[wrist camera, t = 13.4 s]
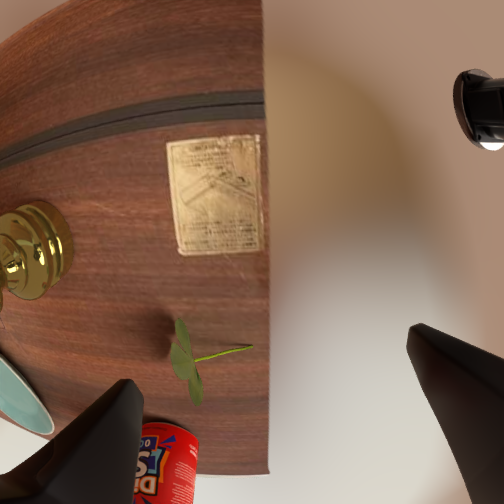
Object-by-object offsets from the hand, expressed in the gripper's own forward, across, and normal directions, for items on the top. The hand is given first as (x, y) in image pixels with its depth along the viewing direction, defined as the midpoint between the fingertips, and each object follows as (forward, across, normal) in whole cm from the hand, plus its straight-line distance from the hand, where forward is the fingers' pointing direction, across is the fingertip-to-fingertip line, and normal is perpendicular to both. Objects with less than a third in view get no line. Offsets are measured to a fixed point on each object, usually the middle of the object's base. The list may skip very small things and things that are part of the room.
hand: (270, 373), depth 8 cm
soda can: (+13, +16, +23) cm, 31 cm away
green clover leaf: (+13, +6, +9) cm, 17 cm away
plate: (+13, +44, +14) cm, 48 cm away
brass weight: (+13, +18, -4) cm, 23 cm away
